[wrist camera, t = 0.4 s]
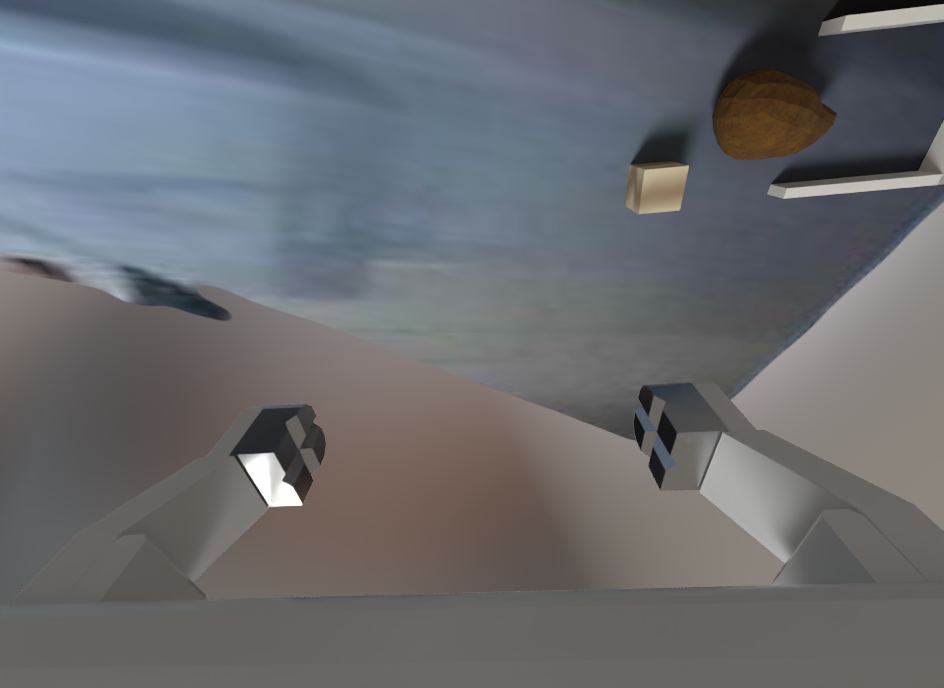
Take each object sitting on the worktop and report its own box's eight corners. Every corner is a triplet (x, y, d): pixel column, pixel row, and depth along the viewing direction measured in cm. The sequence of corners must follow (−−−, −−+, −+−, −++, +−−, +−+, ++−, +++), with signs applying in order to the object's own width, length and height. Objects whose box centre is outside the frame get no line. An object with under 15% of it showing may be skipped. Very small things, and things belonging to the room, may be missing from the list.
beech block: (629, 164, 47) (644, 169, 43) (669, 160, 46) (689, 165, 42) (624, 205, 49) (638, 214, 45) (662, 201, 49) (679, 210, 45)
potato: (749, 180, 48) (798, 193, 40) (681, 130, 45) (721, 134, 37) (808, 113, 43) (875, 112, 36) (737, 53, 41) (795, 40, 33)
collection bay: (822, 21, 39) (846, 15, 36) (1017, -2, 38) (1056, -10, 35) (767, 194, 48) (783, 198, 46) (922, 180, 47) (947, 183, 45)
